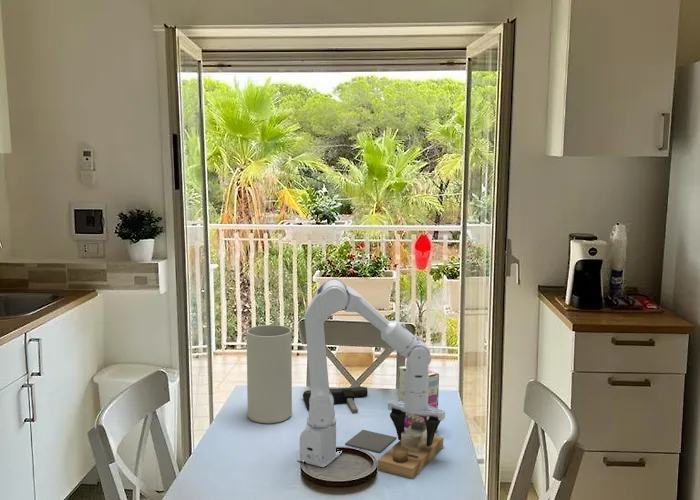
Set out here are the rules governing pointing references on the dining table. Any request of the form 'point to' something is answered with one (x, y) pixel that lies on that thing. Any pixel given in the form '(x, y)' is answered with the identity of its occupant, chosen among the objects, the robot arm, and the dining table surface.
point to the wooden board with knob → (408, 458)
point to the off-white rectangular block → (414, 437)
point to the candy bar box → (432, 395)
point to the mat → (370, 441)
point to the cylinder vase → (269, 373)
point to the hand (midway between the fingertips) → (415, 441)
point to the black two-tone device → (342, 396)
